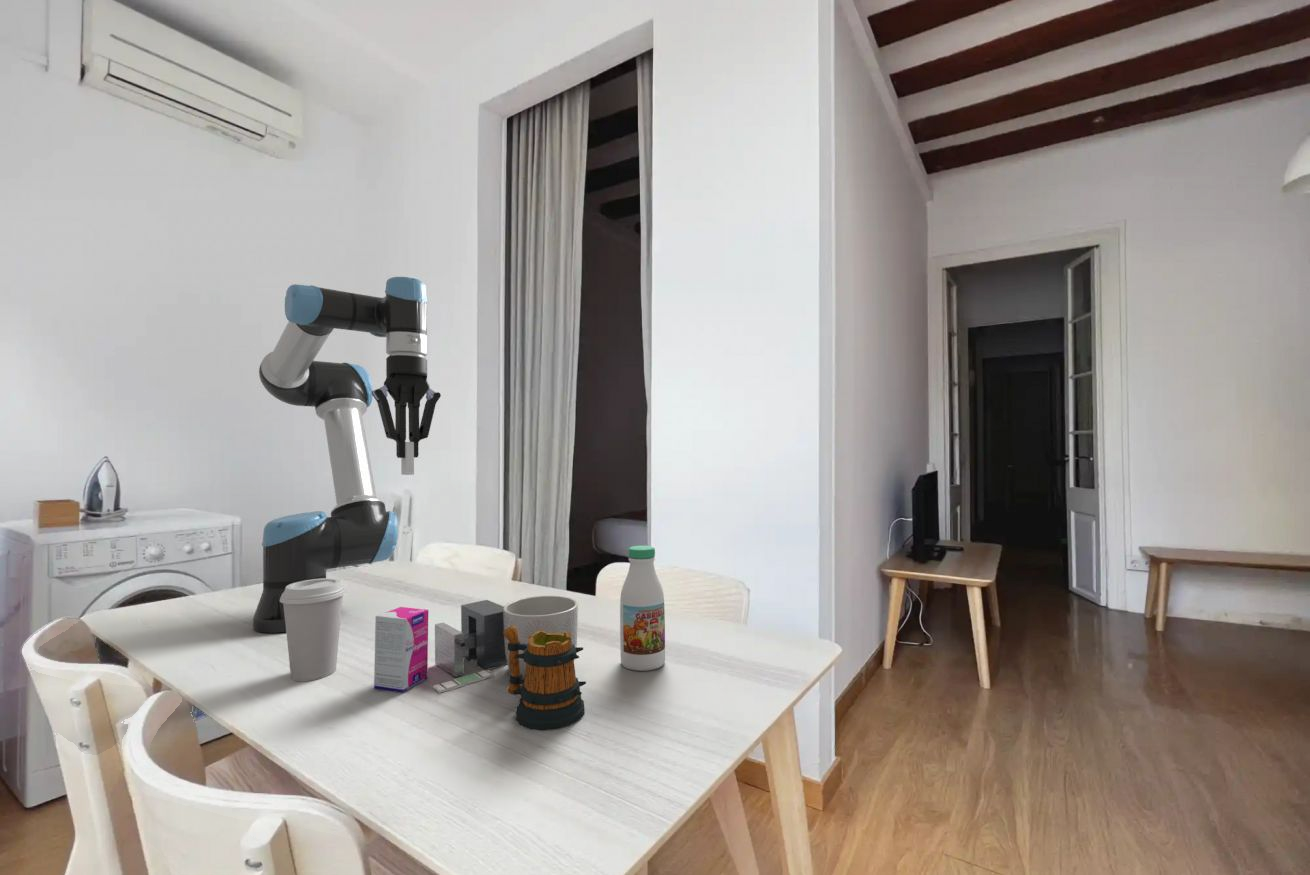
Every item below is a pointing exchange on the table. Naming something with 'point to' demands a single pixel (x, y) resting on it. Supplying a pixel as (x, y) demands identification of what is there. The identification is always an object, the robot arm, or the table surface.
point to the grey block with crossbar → (452, 648)
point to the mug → (545, 680)
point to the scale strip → (463, 681)
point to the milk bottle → (642, 613)
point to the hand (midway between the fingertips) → (407, 474)
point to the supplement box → (401, 649)
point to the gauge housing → (484, 633)
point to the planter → (540, 619)
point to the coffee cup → (313, 626)
